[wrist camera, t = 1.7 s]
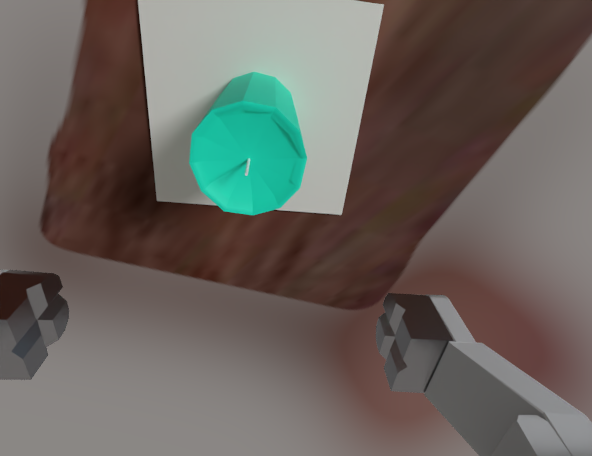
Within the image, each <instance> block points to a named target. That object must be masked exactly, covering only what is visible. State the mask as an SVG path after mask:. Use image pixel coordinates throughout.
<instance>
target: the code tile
mask: <svg viewBox="0 0 592 456" xmlns="http://www.w3.org/2000/svg"><path fill="white" fill-rule="evenodd" d="M138 7H139V18H140V28H141V39H142V49H143V60H144V70H145V81H146V92H147V102H148V113H149V123H150V134H151V144H152V155H153V165H154V176H155V187H156V197H157V201H164V202H177V203H190V204H204V205H216V204H215V203H214V202H213V201H212V200H211V199H209V198H208V197H207V196H206V195H205V194H204V193H203V192H201V190H200V187H199V185H198V183H197V180H196V178H195V176H194V173H193V171H192V169H191V166H190V164H189V158H190V147H191V136H192V133H193V131H194V130H195V129H196V127H197V126H198V124H199V123H200V122H201V120H202V119H203V117H204V116H205V115H206V113H207V112H208V111H209V109H210V108H211V106H212V105H213V104H214V102H215V101H216V99H217V98H218V97H219V95H220V94H221V93H222V91H223V90H224V89H225V88H226V87H227V85H228V84H229V83H230V82H231V80H232V79H233V78H235V77H238V76H241V75H245V74H248V73H251V72H258V73H262V74H265V75H269V76H273V77H276V78H277V79H278V80H279V81H280V82H281V83H282V84H283V85H284V86H285V87H286V88H287V89H288V90H289V91H290V92H291V95H292V99H293V103H294V106H295V110H296V113H297V118H298V122H299V126H300V130H301V134H302V138H303V143H304V147H305V151H306V155H307V162H306V166H305V170H304V174H303V179H302V183H301V187H300V189H299V190H298V191H297V192H296V193H295V194H294V195H293V196H292V197H291V198H290V199H289V200H288V201H287V202H286V203H285V204H284V205H283V206H282V207H281V208H279V209H275V210H284V211H297V212H310V213H324V214H337V215H342V211H343V206H344V201H345V196H346V191H347V186H348V181H349V176H350V171H351V166H352V161H353V156H354V151H355V146H356V141H357V136H358V131H359V126H360V121H361V116H362V111H363V106H364V101H365V96H366V91H367V87H368V82H369V77H370V72H371V67H372V62H373V57H374V52H375V47H376V42H377V37H378V32H379V27H380V22H381V17H382V12H383V7H384V5H383V4H376V3H369V2H361V1H354V0H138Z"/></svg>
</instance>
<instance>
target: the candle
mask: <svg viewBox="0 0 592 456" xmlns="http://www.w3.org/2000/svg"><path fill="white" fill-rule="evenodd" d="M306 162H307V155H306V151H305V147H304V143H303V138H302V134H301V130H300V126H299V122H298V118H297V113H296V110H295V106H294V103H293V99H292V95H291V92H290V91H289V90H288V89H287V88H286V87H285V86H284V85H283V84H282V83H281V82H280V81H279V80H278V79H277V78H276V77H273V76H269V75H265V74H262V73H258V72H251V73H248V74H245V75H241V76H238V77H235V78H233V79H232V80H231V82H230V83H229V84H228V85H227V87H226V88H225V89H224V90H223V91H222V93H221V94H220V95H219V97H218V98H217V99H216V101H215V102H214V104H213V105H212V106H211V108H210V109H209V111H208V112H207V113H206V115H205V116H204V117H203V119H202V120H201V122H200V123H199V124H198V126H197V127H196V129H195V130H194V131H193V133H192V136H191V147H190V158H189V164H190V166H191V169H192V171H193V173H194V176H195V178H196V180H197V183H198V185H199V187H200V190H201V192H203V193H204V194H205V195H206V196H207V197H208V198H209V199H211V200H212V201H213V202H214V203H215V204H216V205H217V206H219V207H220V208H221V209H222V210H223V211H226V212H233V213H240V214H247V215H256V214H260V213H264V212H267V211H271V210H275V209H279V208H281V207H282V206H283V205H284V204H285V203H286V202H287V201H288V200H289V199H290V198H291V197H292V196H293V195H294V194H295V193H296V192H297V191H298V190H299V189H300V187H301V183H302V179H303V174H304V170H305V166H306Z"/></svg>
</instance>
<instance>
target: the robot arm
mask: <svg viewBox="0 0 592 456" xmlns="http://www.w3.org/2000/svg"><path fill="white" fill-rule="evenodd" d="M62 287H63V286H62V284H61V280H60V277H59V276H58V275H56V274H54V273H42V272H29V271H17V270H0V379H21V380H23V379H24V380H25V379H26V380H27V379H29V380H30V379H32V377H33V376H34V374H35V373H36V372H37V370H38V369H39V367H40V366H41V364H42V363H43V361H44V360H45V359H46V357H47V356H48V353H47V348H46V347H47V346H49V345H51V344H52V343H54V342H55V341H57V340H59V338H60V337H61V335H62V334H63V332H64V331H65V328H66V325H67V322H68V318H69V308H68V304H67V301H66V300H65V299H63V298H62V297H61V296H60V295H59V294H58V293H59V292H60V290H61V289H62ZM383 306H384V309H385V313H384V314H382V315H381V316H380V317H379V319H378V322H377V326H376V342H377V347H378V350H379V353H380V354H381V355H382V356H383V357H384V358H385V359H386V363H385V366H384V370H385V373H386V376H387V380H388V383H389V386H390V389H391V391H400V392H417V393H425V394H424V395H425V396H426V397H427V398H428V400H429V401H430V402H431V403H432V404H433V405H434V406H435V407H436V408H437V410H438V411H439V412H440V413H441V414H442V415H443V416H444V417H445V418H446V419H447V420H448V422H449V423H450V424H451V425H452V426H453V427H454V428H455V429H456V431H457V432H458V433H459V434H460V435H461V436H462V437H463V438H464V439H465V440H466V441H467V443H468V444H469V445H470V446H471V447H472V448H473V449H474V450H475V451H476V452H477V454H478V455H479V456H592V423H591V422H590V420H589V419H588V418H587V416H586V415H584V414H583V413H581V412H580V411H579V410H577V409H576V408H574V407H573V406H572V405H570V404H569V403H567V402H566V401H564V400H563V399H562V398H560V397H559V396H557V395H556V394H554V393H553V392H552V391H550V390H549V389H547V388H546V387H544V386H543V385H542V384H540V383H539V382H537V381H536V380H534V379H533V378H531V377H530V376H529V375H527V374H526V373H524V372H523V371H521V370H520V369H519V368H517V367H516V366H514V365H513V364H511V363H510V362H509V361H507V360H506V359H504V358H503V357H501V356H500V355H498V354H497V353H496V352H494V351H493V350H491V349H490V348H488V347H487V346H486V345H484V344H483V343H476V342H475V340H474V338H473V337H472V335H471V334H470V332H469V331H468V329H467V327H466V326H465V324H464V322H463V321H462V319H461V318H460V316H459V314H458V313H457V311H456V310H455V308H454V307H453V306H452V303H451V302H450V300H449V299H448V298H447V297H446V296H444V295H414V294H395V293H388V294H387V296H386V297H385V300H384V303H383Z"/></svg>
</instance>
